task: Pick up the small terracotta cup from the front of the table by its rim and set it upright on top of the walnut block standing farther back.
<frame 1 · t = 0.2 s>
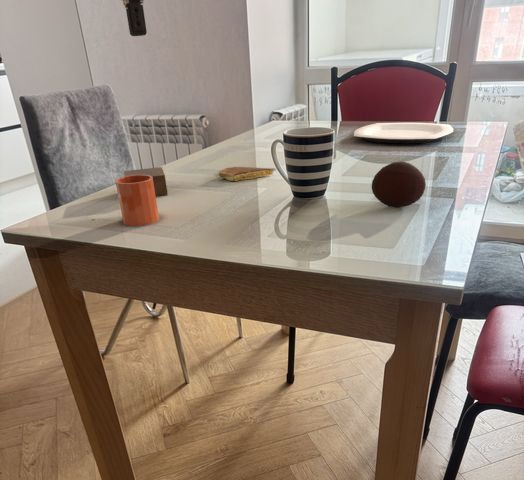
hand: (138, 35, 78), 28 cm above the table, tool pointing down, fingers open, 8 cm apart
plate: (402, 138, 145), on the table
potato: (396, 208, 90), on the table
block: (147, 192, 107), on the table
cake slice: (243, 176, 115), on the table
cup: (142, 226, 87), on the table
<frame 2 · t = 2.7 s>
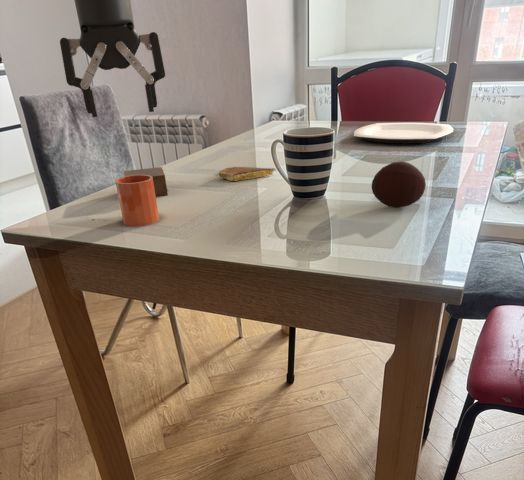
hand: (123, 114, 78), 18 cm above the table, tool pointing down, fingers open, 8 cm apart
nothing on the table moved.
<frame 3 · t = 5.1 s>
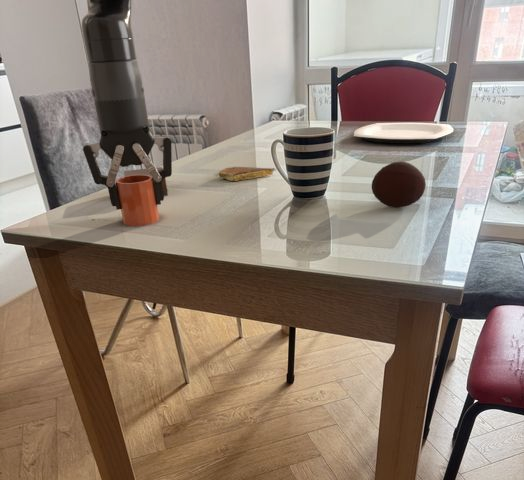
hand: (138, 205, 85), 4 cm above the table, tool pointing down, fingers closed on cup, 6 cm apart
cup: (142, 226, 87), on the table, touching gripper
everything else where it was.
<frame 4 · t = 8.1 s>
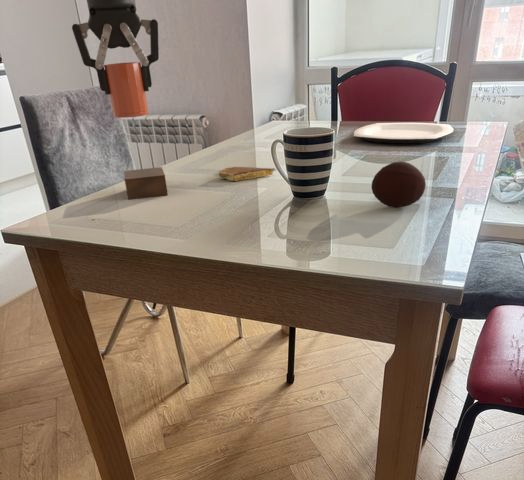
hand: (127, 92, 88), 20 cm above the table, tool pointing down, fingers closed on cup, 6 cm apart
cup: (131, 115, 90), point 16 cm above the table, touching gripper
everything else where it was.
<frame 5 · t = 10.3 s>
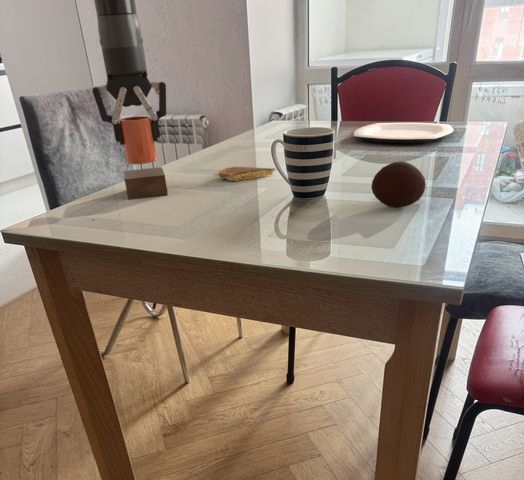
hand: (138, 142, 102), 10 cm above the table, tool pointing down, fingers closed on cup, 6 cm apart
cup: (142, 161, 103), point 6 cm above the table, touching gripper
everything else where it was.
when the fingers open (8 cm above the table, at t = 11.6 s): cup stays where it is, resting on block.
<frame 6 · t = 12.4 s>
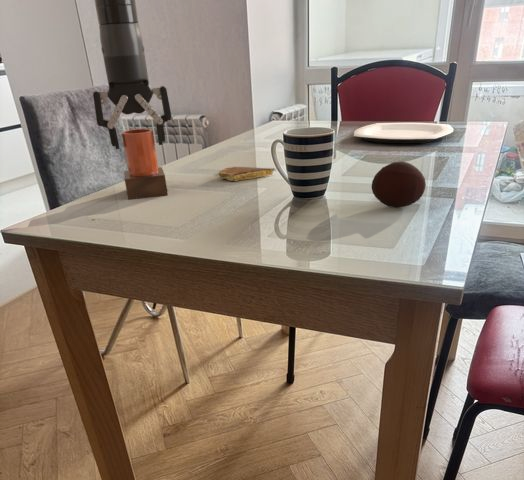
hand: (139, 146, 102), 9 cm above the table, tool pointing down, fingers open, 8 cm apart
block: (147, 192, 107), on the table, touching cup
cup: (144, 172, 105), point 4 cm above the table, touching block
everything else where it was.
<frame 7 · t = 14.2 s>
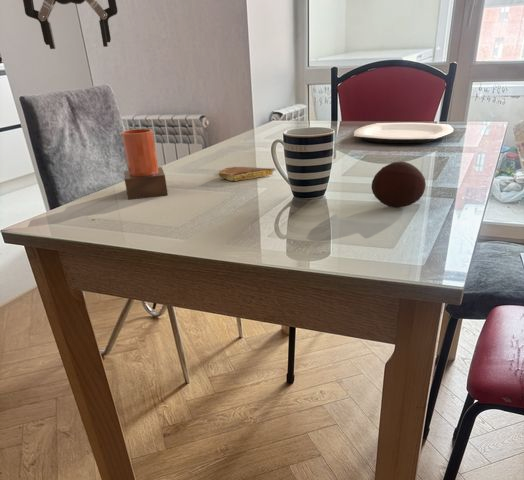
hand: (79, 47, 85), 27 cm above the table, tool pointing down, fingers open, 8 cm apart
nothing on the table moved.
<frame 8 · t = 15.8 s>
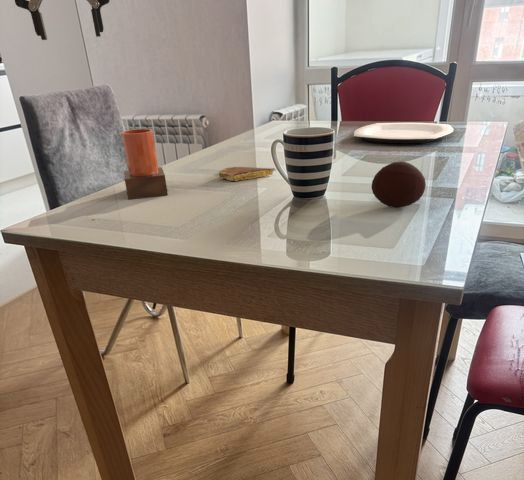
hand: (71, 38, 83), 28 cm above the table, tool pointing down, fingers open, 8 cm apart
nothing on the table moved.
at the end: cup 0.0 cm off-centre on the block, point 4.0 cm above the block's base; cup tilted 0°; the gripper is holding nothing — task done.
